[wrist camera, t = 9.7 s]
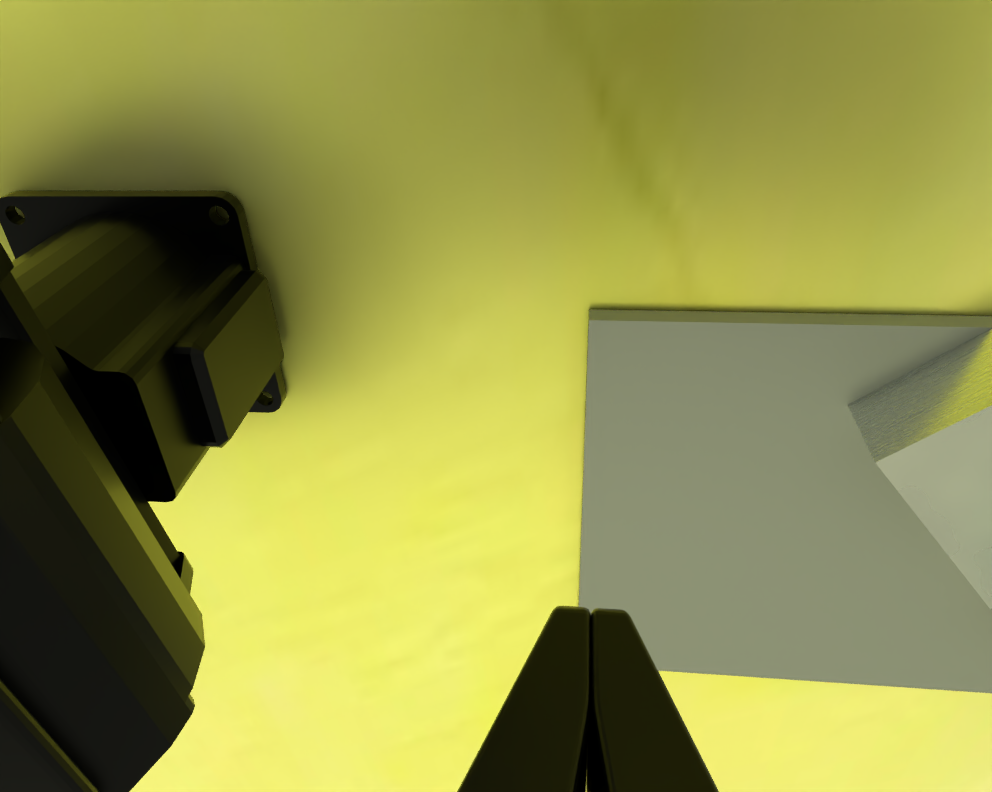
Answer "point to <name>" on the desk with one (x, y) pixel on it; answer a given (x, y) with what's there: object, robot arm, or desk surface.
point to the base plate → (768, 500)
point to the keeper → (941, 450)
